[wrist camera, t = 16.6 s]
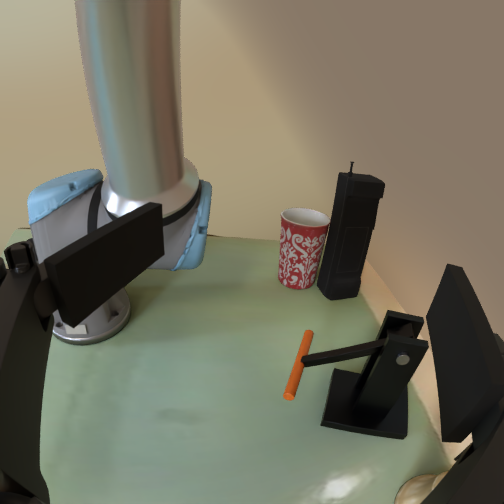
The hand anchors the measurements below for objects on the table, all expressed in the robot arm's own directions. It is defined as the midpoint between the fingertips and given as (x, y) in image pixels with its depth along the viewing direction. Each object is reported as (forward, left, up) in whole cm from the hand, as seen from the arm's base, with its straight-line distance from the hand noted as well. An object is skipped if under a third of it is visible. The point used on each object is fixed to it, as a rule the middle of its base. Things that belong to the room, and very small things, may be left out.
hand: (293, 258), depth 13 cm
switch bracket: (-1, +18, -26) cm, 31 cm away
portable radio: (-24, +33, -26) cm, 48 cm away
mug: (-31, +29, -26) cm, 50 cm away
